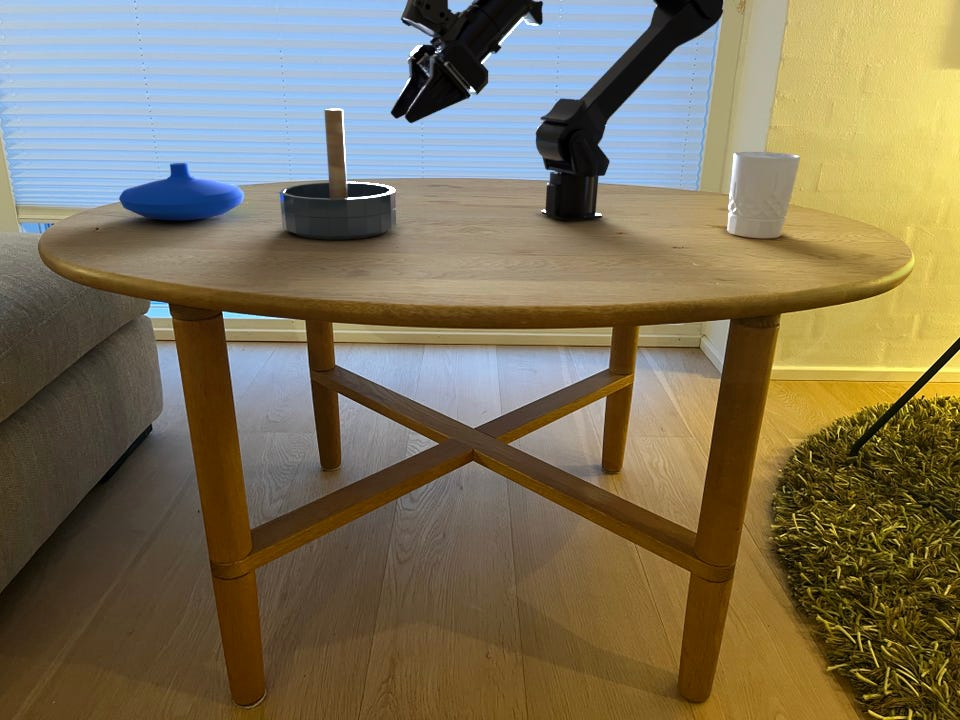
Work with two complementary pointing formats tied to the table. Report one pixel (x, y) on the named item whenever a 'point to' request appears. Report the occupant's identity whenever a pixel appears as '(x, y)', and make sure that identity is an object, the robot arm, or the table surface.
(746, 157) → the white cup
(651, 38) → the robot arm
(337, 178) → the stirring stick
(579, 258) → the table surface
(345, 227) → the bowl
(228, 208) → the vase
